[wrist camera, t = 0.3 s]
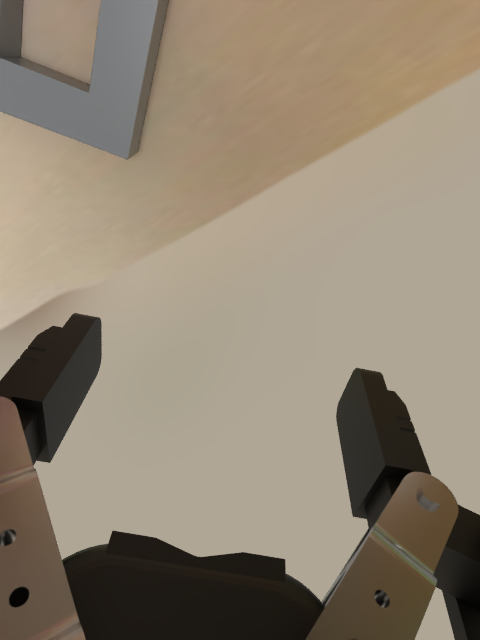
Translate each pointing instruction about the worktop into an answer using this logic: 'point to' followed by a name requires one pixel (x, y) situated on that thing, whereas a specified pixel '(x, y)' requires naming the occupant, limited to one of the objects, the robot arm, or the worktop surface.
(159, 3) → the socket block
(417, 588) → the robot arm
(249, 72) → the worktop surface
